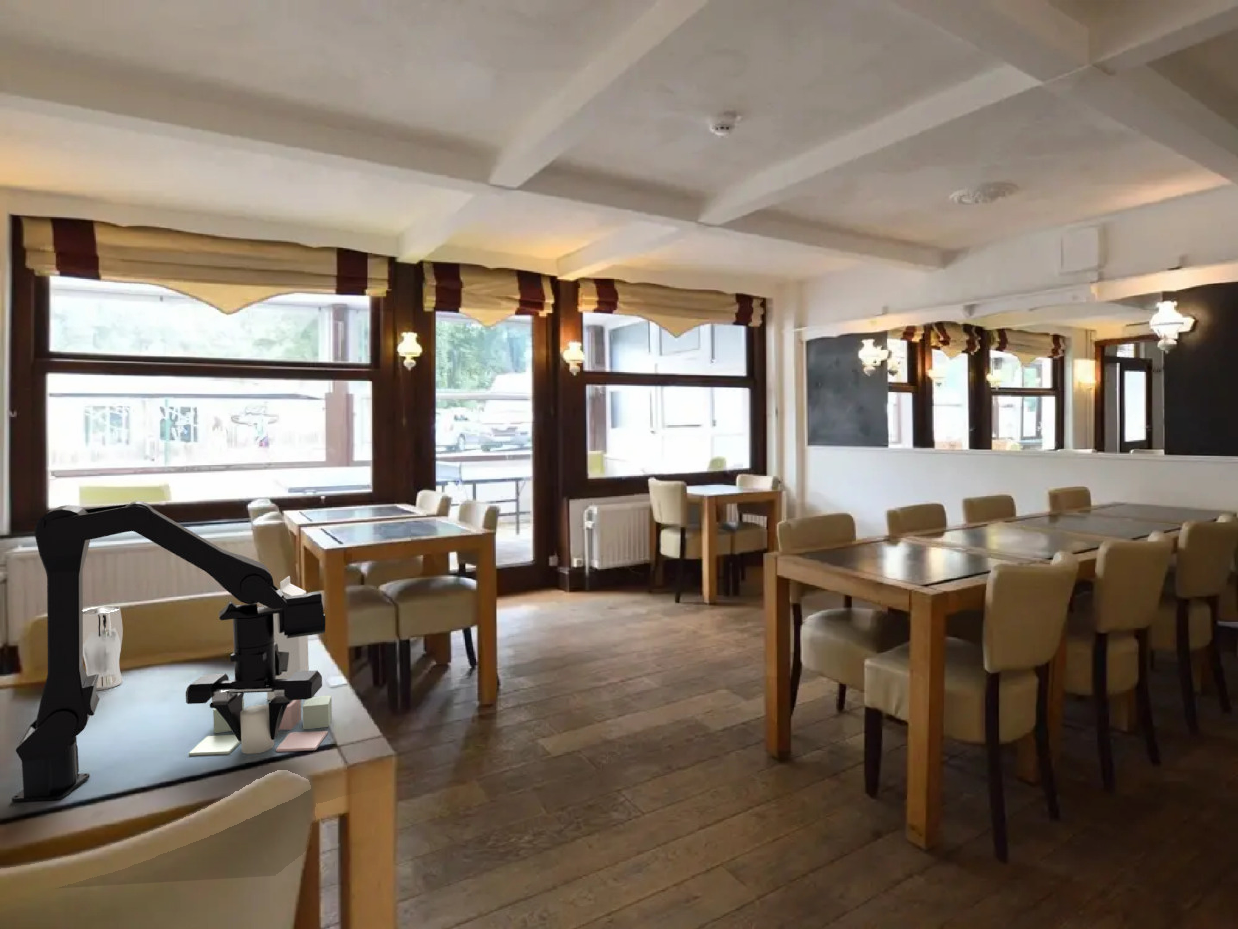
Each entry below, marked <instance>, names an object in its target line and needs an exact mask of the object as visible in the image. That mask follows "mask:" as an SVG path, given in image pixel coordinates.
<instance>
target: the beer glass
mask: <svg viewBox="0 0 1238 929" xmlns="http://www.w3.org/2000/svg"><path fill="white" fill-rule="evenodd" d="M123 632H124V628H123V618H122V612H121V607H120V605H119V606H118V605H105V606H104V605H103V606H95V607H90V608H86V609H83V662H84V664H85V671H86V674H87V676H91V675H95V674H99V677H98V682H97V687H96V691H97V692H98V691H104V690H109V689H112V688H116V687H117V686H119V685H121V684H122V683H123V676H122V674H121V669H120V657H121V650H122V644H123V634H124V633H123Z"/></svg>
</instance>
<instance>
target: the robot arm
mask: <svg viewBox="0 0 1238 929" xmlns="http://www.w3.org/2000/svg"><path fill="white" fill-rule="evenodd" d="M127 532H128V533H129V532H134V533H136V534H138V535H140V536H142V537H144V538H145V539H147V540H149V541H151V542H152V543H154V544H155V545H157V546H159V547H162V548H163V549H165V550H167V551H168V552H170V553H172V554H174V555H176V556H177V557H179V558H181V559H183V560H184V561H186V562H188V563H190V564H191V565H193V566H195V567H197V568H198V569H200V570H202V571H204V572H205V573H207V574H208V575H209V576H210V577H212V578H213V579H214V580H215V581H216V582H217V583H218V584H219V585H220V586H221V587H222V588H223V589H224V590H225V591H227V592H228V593H229V594H230V595H231V596H233V597H234V598H235V599H236V600H238V601H239V602H241V603H243V604H236V603H235V602H233V601H232V600H229V601H228V602H227V604H226V605H225V607H224V608H222V609H221V610H220V611H218V618H219V620H220V621H228V620H232V632H233V634H232V635H233V639H232V640H233V653H231V654H230V663H234V665H233V666H234V679H233V680H229V676H228V674H227V673H209V674H207V673H205V674H204V673H203V675H201V676H200V677H198V678H197V679H195V680H194V681H192V683H190V684H189V685H188V686H187V687H186V690H185V703H186V704H187V705H195V704H196V705H197V704H207V703H208V701H210V700H211V702H210V703H209V708H210V709H214V708H215V709H216V710H217V711H218V712H219V713H220V714H221V716H222V717H223V718H224V719H225V721H226V722H227V723H228V725H229V727H230V728H231V730H232V731H231V732H232V733H233V735H235V736H236V738H237V739H238V741H241V719H240V712H241V711H242V710H243V708H242V701H243V698H244V694H246V693H247V694H251V693H267V692H274V695H275V697H274V698H273V699H272V700H269V702H268V705H269V724H270V735H271V740H274V741H275V740H276V738H277V737H278V733H279V730H280V729H279V727H280V724H281V721H282V718H283V715H284V712H285V710H286V707H287V705H288V704H290V703H291V702H292V701H293V700H301V701H304V700H307V699H310V698H312V697H315V695H316V694H317V693H318V692H319V690H320V689H321V688H322V687H323V676H322V675H321V673H320V672H319V671H318V670H309V671H296V672H295V673H294V674H293V675H292V676H291V677H290V678H289V679H276V676H280V675H281V674H282V672H287V670H288V659H289V652H279V651H278V645H277V643H274V617H273V614H276V613H277V619H278V631H279V633H283V632H284V636H285V635H286V637H287V638H294V637H301V636H308V637H309V636H316V635H321V634H322V635H323V634H325V632H326V614H325V612H324V605H323V600H322V599H323V598H322V594H321V592H320V591H312V592H309V593H306V594H303V595H295V596H286V597H284V595H283V593H282V591H281V590H279V589H280V588H278V587H277V586H276V585H275V582H274V578H273V575H272V573H271V571H270V569H269V568H268V566H266V565H265V564H264V563H262V562H261V561H258V560H254V559H252V558H249V557H246V556H244V555H243V554H238V553H234V552H231V551H228V550H225V549H223V548H221V547H219V546H217V545H216V544H214V543H212V542H210V541H209V540H207V539H206V538H204V537H202V536H201V535H198V534H196V533H195V532H193V531H192V530H190V529H188V528H187V527H185V526H183V525H182V524H179V523H178V522H176V521H174V520H173V519H172V518H170V517H167V516H166V515H164V514H163V513H160V512H159V511H157V509H154V508H153V507H152V506H151V504H149V503H147V502H145V501H138V500H137V501H132V502H130V503H125V504H116V505H107V506H99V507H93V508H86V509H84V508H82V507H80V506H77V505H71V504H66V505H60V506H58V507H56V508H54V509H51V510H49V511H47V513H45V514H44V515H43V516H41V517H40V518H39V519H38V520H37V522H36V523H35V526H34V537H35V542H36V546H37V550H38V555H39V557H40V560H41V563H42V566H43V568H44V570H45V573H46V583H47V584H46V588H47V589H46V594H47V595H46V596H47V598H46V600H47V606H46V608H47V609H46V610H47V611H46V612H47V615H46V616H47V618H46V619H47V622H46V623H47V674H46V675H47V676H46V679H45V683H44V687H43V690H42V695H41V698H40V701H39V707H38V712H37V716H36V719H35V720H34V721H33V722H31V724H30V725H29V726H28V727H27V729H26V731H25V733H24V734H23V736H22V738H21V740H20V742H19V743H18V745H17V747H16V749H15V752H16V754H17V756H18V757H19V759H20V761H21V772H22V773H21V775H22V790H20V791H19V792H17V793H16V794H14V795H13V796H11V802H31V801H33V802H34V801H51V800H53V801H54V800H60V799H63V798H64V797H65V796H67V795H68V794H70V793H71V792H72V791H74V790H75V789H76V788H77V787H79V786H80V785H81V784H83V783H84V782H85V781H87V780H88V779H89V778H90V777H91V776H90V773H88V772H87V773H79V772H80V766H79V748H78V740H77V736H78V735H80V734H81V733H82V732H83V731H84V730H85V729H86V726H87V725H88V722H89V719H90V716H91V717H92V716H94V715H95V712H96V711H97V710H96V709H97V707H98V704H99V702H100V696H99V694H98V690H97V691H96V687H97V682H98V677H99V674H95V675H91V676H87V674H86V668H85V666H84V657H83V610H84V609H83V608H84V606H83V604H84V603H83V602H84V600H83V599H84V598H83V595H84V592H83V590H84V588H83V587H84V582H83V581H84V579H83V578H84V577H83V576H84V574H83V572H84V565H85V561H86V558H87V555H88V552H89V547H90V543H91V540H95V539H101V538H104V537H108V536H113V535H118V534H122V533H127ZM257 603H259V604H261V605H263V606H262V607H261V606H259V607H258V604H257ZM264 605H265V606H267V607H264Z"/></svg>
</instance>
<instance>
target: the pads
mask: <svg viewBox="0 0 1238 929" xmlns="http://www.w3.org/2000/svg"><path fill="white" fill-rule="evenodd" d="M328 732H329V731H328V730H323V731H322V730H321V731H302V732H301V731H300V732H299V731H295V732H289V733H288V734H287V735H286V737H285V738H284V739H283V740H282V741H281V743H280V744H279V745H278V746H277V747H276V748H275V752H300V751H301V752H302V751H303V752H304V751H316V750H317V749H318V748H319V746H320V745H321V743H322V742H323V740H324V739H325V737H326V736H327V735H328ZM240 743H241V741H238V739H237V738H236V736H235V734H226V735H224V734H223V735H207V736H205V737H204V738H203V740H201V741H200V742H199V743H198V744H197V745H196V746H195V747H194V748H192V749H191V750H190V752H188V756H205V755H206V756H209V755H210V756H211V755H230V754H231V753H232V752H233V751H234V749H235V748H237V747H238V745H240Z"/></svg>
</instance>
